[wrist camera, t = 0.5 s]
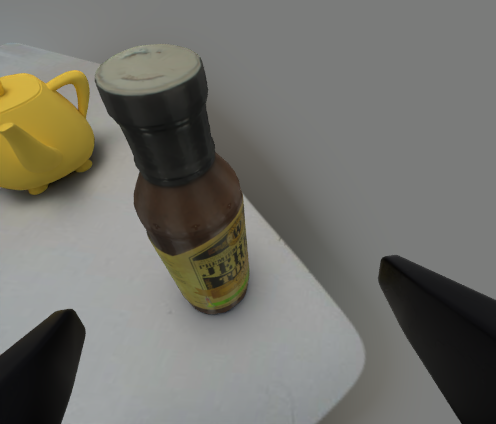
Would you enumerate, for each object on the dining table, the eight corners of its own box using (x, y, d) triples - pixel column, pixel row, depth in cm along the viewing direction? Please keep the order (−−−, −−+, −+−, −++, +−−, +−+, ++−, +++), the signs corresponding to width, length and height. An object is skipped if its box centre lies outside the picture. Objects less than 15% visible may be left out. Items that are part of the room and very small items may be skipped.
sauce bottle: (228, 330, 23) (145, 145, 7) (171, 296, 25) (6, 93, 9) (263, 268, 26) (257, 45, 10) (209, 242, 28) (136, 23, 12)
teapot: (-28, 209, 33) (-148, 126, 24) (34, 133, 42) (-35, 50, 32) (79, 212, 32) (-1, 125, 22) (122, 133, 40) (77, 47, 31)
